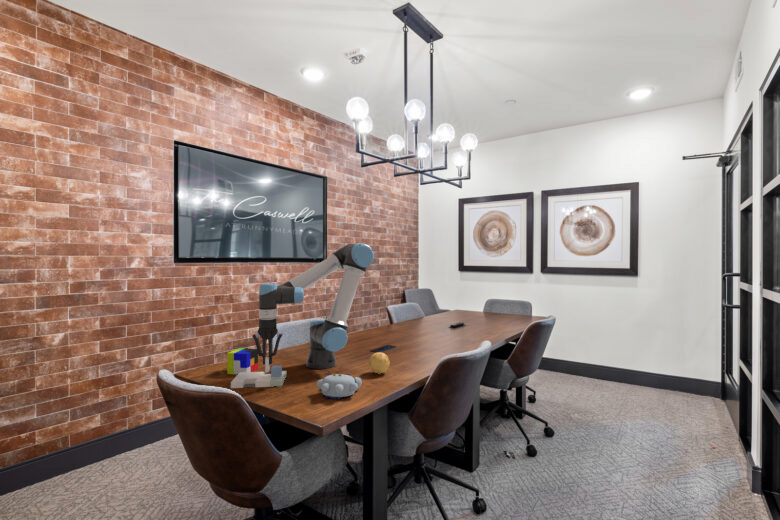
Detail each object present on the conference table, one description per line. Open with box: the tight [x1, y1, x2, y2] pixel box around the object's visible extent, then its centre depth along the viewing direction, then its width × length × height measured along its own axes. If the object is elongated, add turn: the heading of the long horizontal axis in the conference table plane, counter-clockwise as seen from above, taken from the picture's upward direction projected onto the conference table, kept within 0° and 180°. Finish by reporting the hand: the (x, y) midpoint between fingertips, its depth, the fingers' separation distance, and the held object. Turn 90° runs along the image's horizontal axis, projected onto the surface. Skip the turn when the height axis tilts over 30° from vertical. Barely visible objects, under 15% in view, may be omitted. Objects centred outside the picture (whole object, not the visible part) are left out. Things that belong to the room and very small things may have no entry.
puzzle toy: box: [226, 347, 259, 375], centre depth 188 cm, size 10×10×10 cm
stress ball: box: [368, 351, 391, 375], centre depth 184 cm, size 10×10×10 cm
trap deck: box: [230, 370, 288, 389], centre depth 172 cm, size 21×14×2 cm, turn 97°
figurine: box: [316, 373, 362, 400], centre depth 158 cm, size 17×8×20 cm
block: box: [270, 364, 283, 377], centre depth 173 cm, size 4×4×4 cm
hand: (267, 371), depth 172 cm, fingers closed
